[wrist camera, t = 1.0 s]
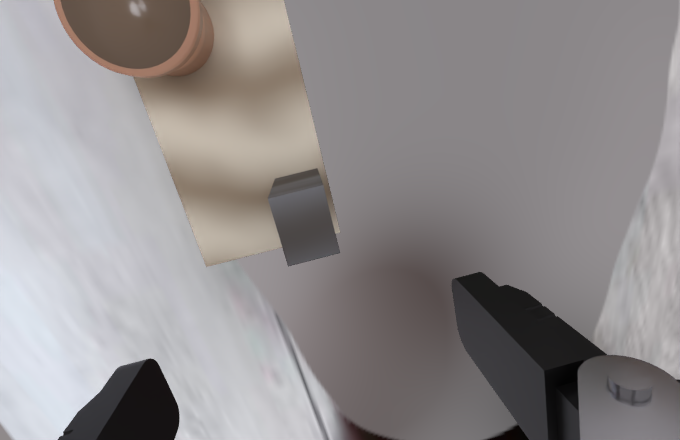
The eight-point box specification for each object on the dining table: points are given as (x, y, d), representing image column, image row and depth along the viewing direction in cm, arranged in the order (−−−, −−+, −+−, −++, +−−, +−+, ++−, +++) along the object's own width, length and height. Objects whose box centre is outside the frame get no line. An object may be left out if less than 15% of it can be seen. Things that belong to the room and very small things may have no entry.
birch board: (60, -134, 19) (-69, -268, 12) (241, -172, 19) (212, -320, 13) (209, 261, 26) (179, 311, 20) (338, 228, 27) (352, 266, 20)
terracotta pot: (98, -15, 20) (24, -63, 14) (202, -38, 20) (168, -93, 15) (140, 95, 22) (88, 89, 16) (235, 72, 22) (215, 59, 17)
